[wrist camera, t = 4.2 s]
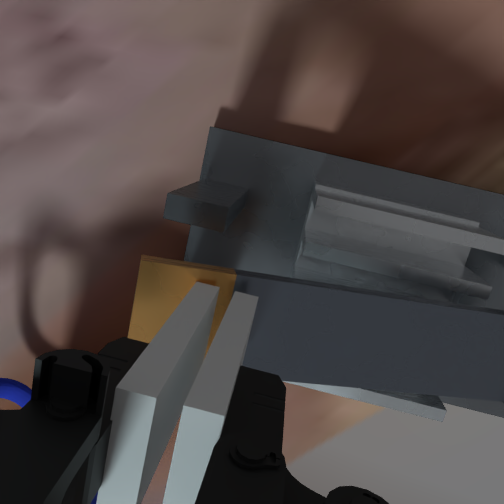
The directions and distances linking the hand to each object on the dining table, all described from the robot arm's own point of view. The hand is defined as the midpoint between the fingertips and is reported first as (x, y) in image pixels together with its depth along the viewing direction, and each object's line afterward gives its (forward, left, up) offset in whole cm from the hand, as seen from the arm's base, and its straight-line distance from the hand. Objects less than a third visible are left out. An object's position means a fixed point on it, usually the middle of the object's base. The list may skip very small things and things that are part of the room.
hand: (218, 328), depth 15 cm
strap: (+6, 0, -3) cm, 7 cm away
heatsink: (+6, 0, -12) cm, 14 cm away
